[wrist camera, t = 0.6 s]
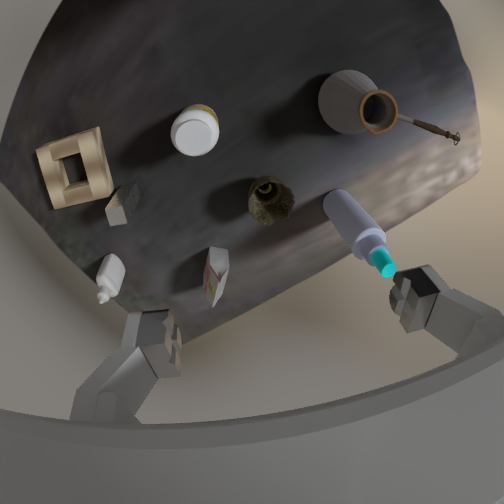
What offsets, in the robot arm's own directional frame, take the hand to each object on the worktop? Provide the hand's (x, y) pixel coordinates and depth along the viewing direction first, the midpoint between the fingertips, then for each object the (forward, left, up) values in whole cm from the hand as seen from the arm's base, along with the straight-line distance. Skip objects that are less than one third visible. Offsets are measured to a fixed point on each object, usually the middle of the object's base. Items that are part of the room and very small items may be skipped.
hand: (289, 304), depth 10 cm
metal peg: (+10, -19, -43) cm, 48 cm away
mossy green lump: (+13, +5, -44) cm, 46 cm away
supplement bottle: (0, -5, -44) cm, 44 cm away
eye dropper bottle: (+25, -27, -44) cm, 57 cm away
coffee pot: (-1, +25, -44) cm, 50 cm away
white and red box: (+28, -6, -44) cm, 52 cm away
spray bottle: (+18, +19, -44) cm, 51 cm away
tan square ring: (+3, -28, -43) cm, 52 cm away
